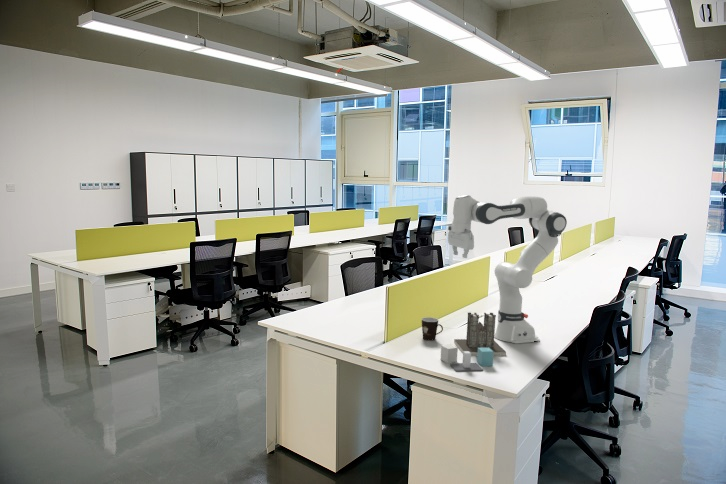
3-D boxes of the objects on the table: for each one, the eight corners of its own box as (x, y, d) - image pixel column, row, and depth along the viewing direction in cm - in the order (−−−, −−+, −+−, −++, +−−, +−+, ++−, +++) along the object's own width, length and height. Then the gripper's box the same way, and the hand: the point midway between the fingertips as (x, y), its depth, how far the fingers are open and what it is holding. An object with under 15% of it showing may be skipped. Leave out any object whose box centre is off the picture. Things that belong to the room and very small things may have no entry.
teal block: (488, 361, 222) (488, 347, 222) (492, 365, 217) (493, 351, 216) (476, 361, 222) (477, 347, 221) (481, 366, 217) (482, 351, 216)
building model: (492, 342, 249) (495, 308, 247) (507, 356, 230) (509, 319, 227) (454, 342, 248) (455, 308, 246) (464, 356, 228) (467, 319, 226)
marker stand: (476, 364, 219) (476, 348, 218) (482, 370, 211) (483, 355, 210) (450, 364, 217) (450, 349, 216) (455, 371, 209) (456, 355, 208)
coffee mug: (417, 336, 256) (418, 317, 254) (432, 335, 259) (433, 316, 257) (428, 343, 245) (429, 324, 244) (443, 342, 248) (444, 322, 247)
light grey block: (449, 357, 226) (450, 343, 225) (456, 361, 221) (457, 347, 220) (440, 359, 223) (441, 345, 222) (447, 363, 219) (448, 349, 218)
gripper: (478, 230, 233) (476, 259, 234) (457, 226, 252) (456, 253, 254) (466, 230, 231) (464, 259, 233) (446, 226, 250) (445, 253, 252)
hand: (460, 256), depth 243 cm, fingers open, 8 cm apart
